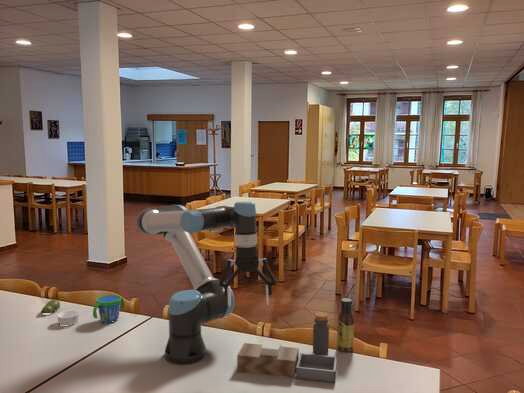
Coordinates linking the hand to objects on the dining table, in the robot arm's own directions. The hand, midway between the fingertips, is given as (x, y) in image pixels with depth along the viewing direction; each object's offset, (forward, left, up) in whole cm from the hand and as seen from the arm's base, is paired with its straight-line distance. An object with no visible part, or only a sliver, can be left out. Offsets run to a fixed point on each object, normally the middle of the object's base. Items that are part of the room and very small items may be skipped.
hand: (248, 304), depth 163 cm
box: (+25, -2, -21) cm, 33 cm away
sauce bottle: (+34, +19, -22) cm, 44 cm away
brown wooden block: (+8, -2, -21) cm, 23 cm away
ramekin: (-85, +19, -22) cm, 90 cm away
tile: (+9, -2, -15) cm, 18 cm away
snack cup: (-69, +25, -22) cm, 77 cm away
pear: (-101, +28, -22) cm, 107 cm away
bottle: (+25, +14, -22) cm, 36 cm away
